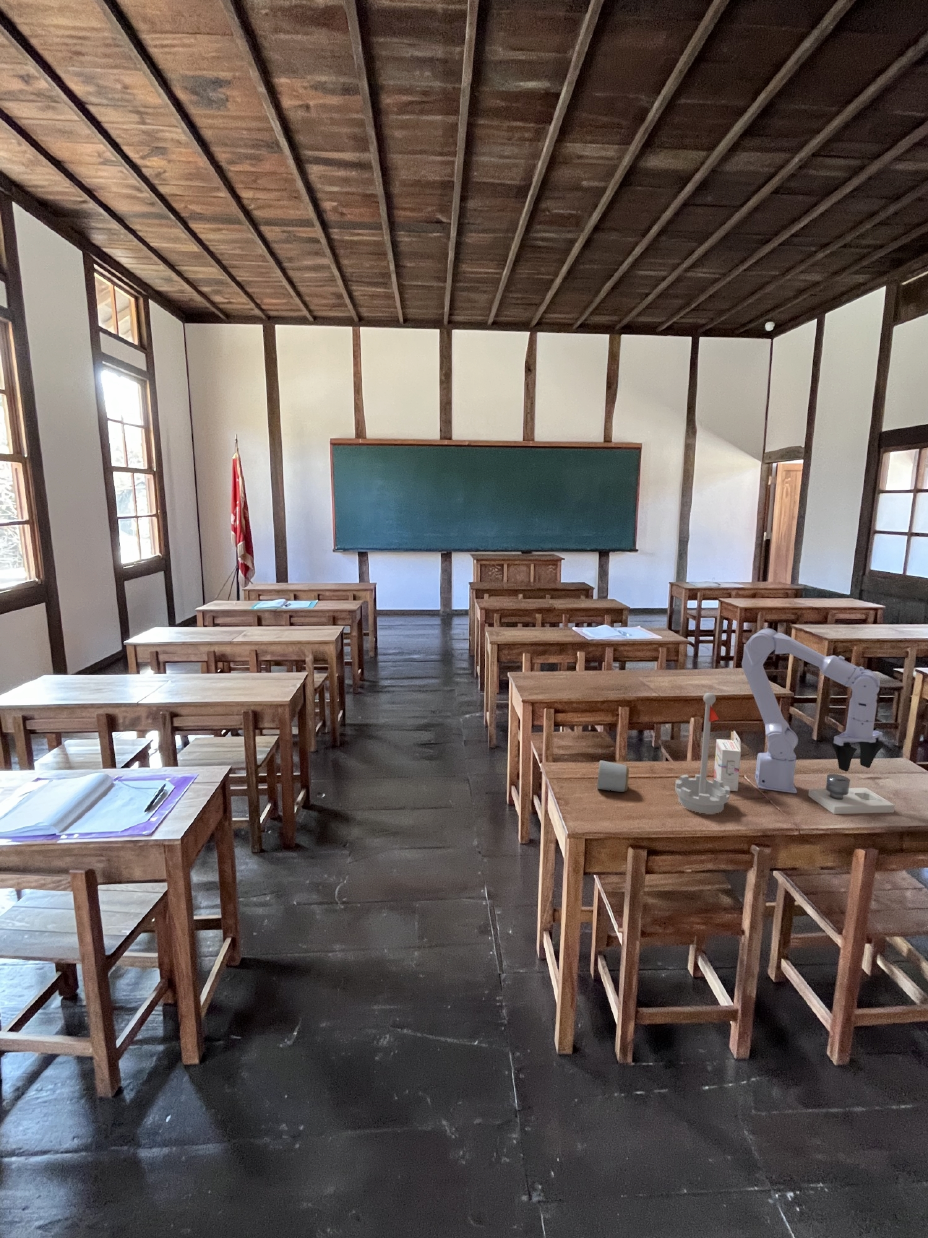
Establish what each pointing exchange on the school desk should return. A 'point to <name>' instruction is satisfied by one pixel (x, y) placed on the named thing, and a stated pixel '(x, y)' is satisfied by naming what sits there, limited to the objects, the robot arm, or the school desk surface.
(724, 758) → the ink cartridge box
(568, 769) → the school desk surface
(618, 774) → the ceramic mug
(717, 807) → the flag stand
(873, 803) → the board
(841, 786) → the peg
